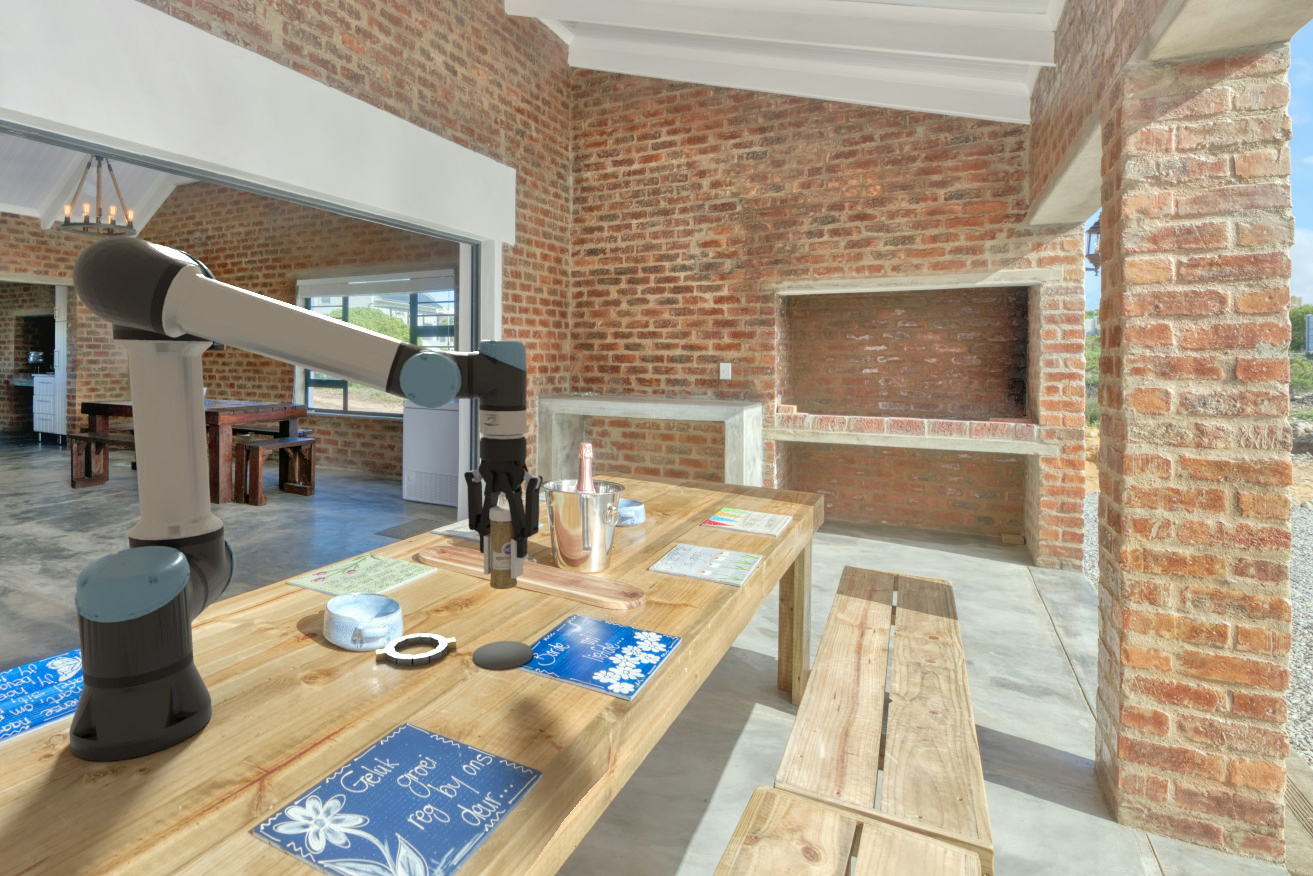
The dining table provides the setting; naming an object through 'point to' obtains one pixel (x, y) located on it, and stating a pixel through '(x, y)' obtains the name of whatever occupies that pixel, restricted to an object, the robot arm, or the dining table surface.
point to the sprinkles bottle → (501, 547)
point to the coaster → (502, 655)
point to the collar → (418, 659)
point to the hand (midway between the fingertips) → (503, 573)
